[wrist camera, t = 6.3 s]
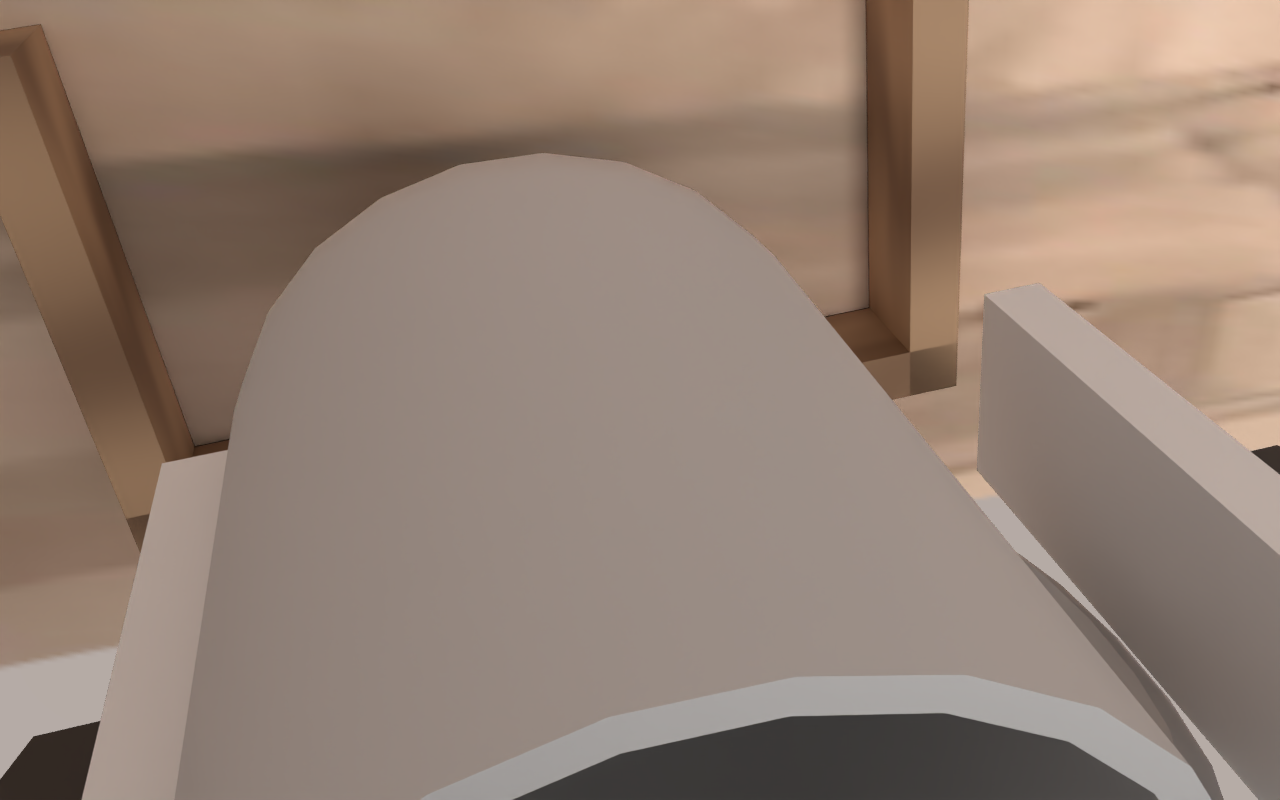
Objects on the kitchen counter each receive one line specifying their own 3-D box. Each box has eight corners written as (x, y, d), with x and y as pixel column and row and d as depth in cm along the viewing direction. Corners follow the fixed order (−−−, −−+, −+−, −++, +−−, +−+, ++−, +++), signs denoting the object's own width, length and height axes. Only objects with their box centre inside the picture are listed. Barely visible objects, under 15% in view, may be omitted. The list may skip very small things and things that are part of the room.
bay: (-25, 34, 23) (-62, 67, 21) (918, -114, 25) (971, -99, 23) (158, 499, 28) (144, 561, 26) (913, 340, 31) (956, 385, 29)
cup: (296, 64, 12) (232, 593, 5) (1067, 262, 16) (1739, 760, 8) (196, 605, 15) (57, 1453, 8) (861, 675, 19) (1213, 1321, 11)
